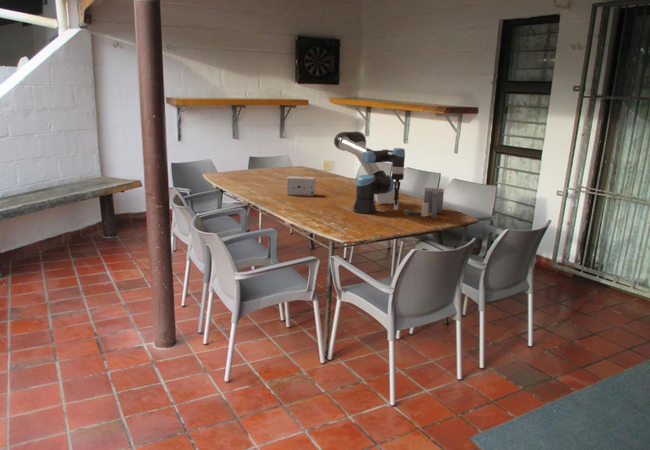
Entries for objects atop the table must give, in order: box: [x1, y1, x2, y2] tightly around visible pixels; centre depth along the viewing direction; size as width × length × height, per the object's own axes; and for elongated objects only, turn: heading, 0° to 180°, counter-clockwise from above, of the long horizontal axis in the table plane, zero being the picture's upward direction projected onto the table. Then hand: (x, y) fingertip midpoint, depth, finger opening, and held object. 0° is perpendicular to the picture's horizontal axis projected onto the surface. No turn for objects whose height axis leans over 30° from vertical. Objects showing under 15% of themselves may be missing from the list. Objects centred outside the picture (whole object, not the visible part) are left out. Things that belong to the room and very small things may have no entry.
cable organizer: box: [374, 187, 395, 205], centre depth 368 cm, size 15×11×12 cm
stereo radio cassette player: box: [286, 168, 317, 197], centre depth 386 cm, size 21×8×20 cm, turn 84°
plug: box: [403, 202, 429, 217], centre depth 335 cm, size 15×4×8 cm, turn 81°
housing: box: [422, 187, 445, 220], centre depth 339 cm, size 12×29×16 cm, turn 171°
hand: (395, 209), depth 337 cm, fingers closed
